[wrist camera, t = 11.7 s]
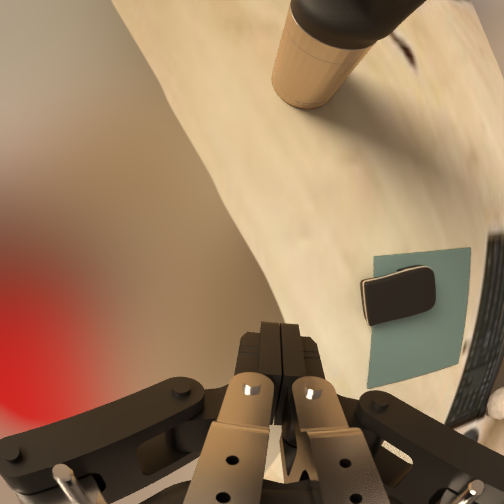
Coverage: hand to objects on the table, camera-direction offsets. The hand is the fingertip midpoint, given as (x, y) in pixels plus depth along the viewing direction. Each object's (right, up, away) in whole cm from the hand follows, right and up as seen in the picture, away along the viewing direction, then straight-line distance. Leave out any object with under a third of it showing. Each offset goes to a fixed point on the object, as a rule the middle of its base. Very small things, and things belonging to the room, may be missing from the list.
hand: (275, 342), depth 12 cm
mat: (+27, -7, +31) cm, 42 cm away
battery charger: (+15, -3, +29) cm, 33 cm away
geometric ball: (+55, -30, +35) cm, 72 cm away
